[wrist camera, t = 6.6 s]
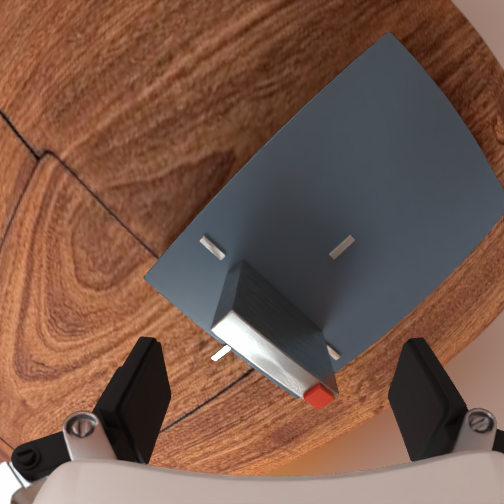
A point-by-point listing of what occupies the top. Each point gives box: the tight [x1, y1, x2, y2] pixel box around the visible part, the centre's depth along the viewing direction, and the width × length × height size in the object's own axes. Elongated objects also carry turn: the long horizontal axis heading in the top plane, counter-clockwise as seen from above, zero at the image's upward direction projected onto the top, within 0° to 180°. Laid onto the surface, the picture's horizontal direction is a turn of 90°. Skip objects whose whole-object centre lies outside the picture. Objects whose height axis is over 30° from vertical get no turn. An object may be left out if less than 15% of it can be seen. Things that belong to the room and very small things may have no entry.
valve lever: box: [210, 259, 339, 409], centre depth 14 cm, size 6×1×5 cm, turn 46°
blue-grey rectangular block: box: [144, 32, 504, 398], centre depth 16 cm, size 19×12×3 cm, turn 136°
